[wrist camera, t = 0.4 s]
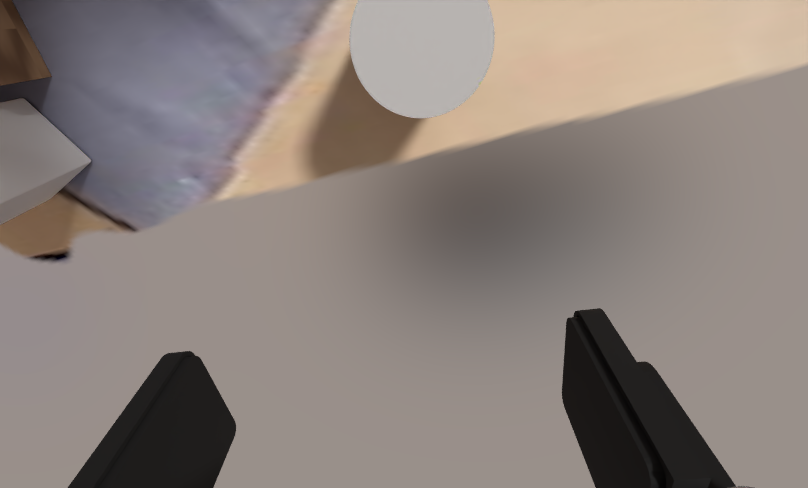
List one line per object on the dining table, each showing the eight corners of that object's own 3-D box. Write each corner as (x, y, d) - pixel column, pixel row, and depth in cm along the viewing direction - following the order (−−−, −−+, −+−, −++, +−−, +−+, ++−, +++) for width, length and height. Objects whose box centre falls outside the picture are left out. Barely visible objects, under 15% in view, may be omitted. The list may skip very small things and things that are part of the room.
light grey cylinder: (387, 99, 36) (378, 135, 25) (354, -3, 32) (326, -10, 22) (477, 69, 34) (507, 93, 24) (453, -42, 31) (476, -70, 20)
